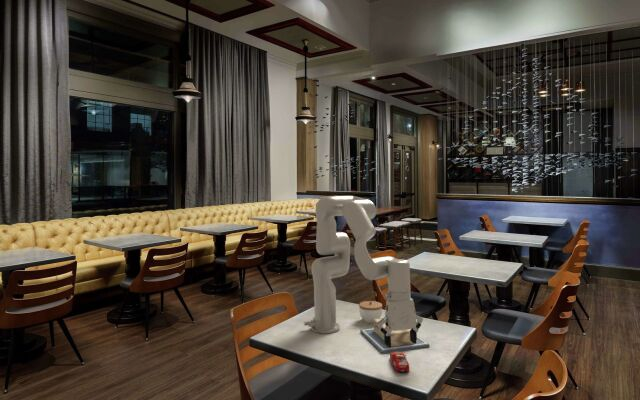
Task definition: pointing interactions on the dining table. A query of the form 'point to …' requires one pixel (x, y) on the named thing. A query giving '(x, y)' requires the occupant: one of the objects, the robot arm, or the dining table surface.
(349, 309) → the dining table surface
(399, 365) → the race car
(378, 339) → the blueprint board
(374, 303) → the lidded jar
